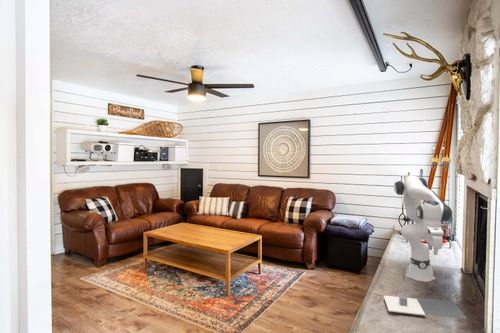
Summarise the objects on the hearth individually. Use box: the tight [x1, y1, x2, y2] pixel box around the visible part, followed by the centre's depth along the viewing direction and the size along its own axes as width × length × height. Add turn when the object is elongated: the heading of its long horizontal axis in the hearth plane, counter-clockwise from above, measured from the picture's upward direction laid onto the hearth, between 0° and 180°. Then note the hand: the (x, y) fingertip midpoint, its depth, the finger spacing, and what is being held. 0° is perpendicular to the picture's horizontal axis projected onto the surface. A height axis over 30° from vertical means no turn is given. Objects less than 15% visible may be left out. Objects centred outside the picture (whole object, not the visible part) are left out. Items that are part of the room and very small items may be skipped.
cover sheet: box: [383, 295, 426, 316], centre depth 166 cm, size 18×18×5 cm
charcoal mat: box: [415, 296, 468, 320], centre depth 166 cm, size 20×20×1 cm
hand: (432, 252), depth 170 cm, fingers open, 8 cm apart
